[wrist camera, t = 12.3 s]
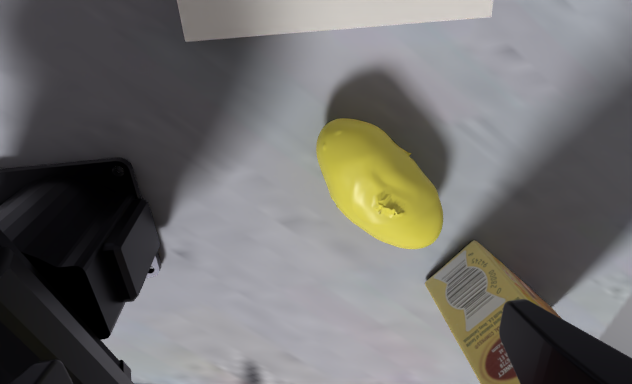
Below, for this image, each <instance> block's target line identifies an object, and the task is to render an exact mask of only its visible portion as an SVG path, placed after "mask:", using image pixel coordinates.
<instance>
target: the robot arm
mask: <svg viewBox="0 0 632 384" xmlns="http://www.w3.org/2000/svg"><path fill="white" fill-rule="evenodd" d="M115 166H120V167H121V168H123V170H124V173H119V172H118V171H117V170H116V169H115ZM159 246H160V241H159V238H158V235H157V231H156V228H155V224H154V221H153V217H152V214H151V211H150V207H149V204H148V202H147V201H146V200H144V199H143V198H141V195H140V191H139V188H138V184H137V181H136V178H135V174H134V171H133V168H132V165H131V163H130V162H129V161H127V160H126V159H123V158H110V159H100V160H90V161H80V162H70V163H60V164H50V165H40V166H29V167H19V168H9V169H0V384H134V383H133V382H132V381H131V369H130V368H129V367H128V366H127V365H126V363H125V362H124V361H123V360H118V359H117V358H116V357H115V356H114V354H113V353H112V352H111V351H110V350H109V349H108V348H107V347H106V346H105V345H104V343H103V342H102V341H101V339H106V338H108V337H109V336H110V334H111V332H112V330H113V328H114V326H115V324H116V322H117V319H118V317H119V315H120V313H121V311H122V309H123V306H124V304H125V302H131V301H134V300H135V299H136V297H137V296H138V295H139V293H140V290H141V288H142V286H143V283H144V281H145V279H146V278H150V277H154V276H156V275H158V273H159V271H160V269H161V262H160V258H159V255H158V252H157V251H158V249H159ZM151 266H152V267H154V268H153V269H150V267H151ZM499 335H500V339H501V342H502V344H503V346H504V349H505V351H506V353H507V355H508V357H509V360H510V362H511V364H512V366H513V369H514V371H515V373H516V375H517V377H518V380H519V382H520V384H632V358H630V357H628V356H627V355H625V354H623V353H621V352H620V351H618V350H616V349H614V348H613V347H611V346H609V345H607V344H605V343H603V342H602V341H600V340H598V339H597V338H595V337H593V336H591V335H589V334H588V333H586V332H584V331H582V330H581V329H579V328H577V327H575V326H573V325H572V324H570V323H568V322H566V321H565V320H563V319H561V318H559V317H557V316H556V315H554V314H552V313H550V312H549V311H547V310H545V309H543V308H541V307H540V306H538V305H536V304H534V303H533V302H531V301H529V300H526V299H519V300H511V301H507V302H506V303H505V304H504V307H503V312H502V317H501V322H500V327H499Z"/></svg>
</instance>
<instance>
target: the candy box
mask: <svg viewBox="0 0 632 384" xmlns="http://www.w3.org/2000/svg"><path fill="white" fill-rule="evenodd" d="M425 285H426V287H427V289H428V290H429V292H430V294H431V296H432V298H433V299H434V301H435V303H436V305H437V306H438V308H439V310H440V312H441V313H442V315H443V317H444V319H445V321H446V323H447V324H448V326H449V328H450V330H451V332H452V333H453V335H454V337H455V339H456V341H457V342H458V344H459V346H460V348H461V349H462V351H463V353H464V355H465V356H466V358H467V360H468V362H469V363H470V365H471V367H472V369H473V371H474V372H475V374H476V376H477V378H478V380H479V381H480V383H481V384H520V382H519V380H518V377H517V375H516V373H515V371H514V369H513V366H512V364H511V362H510V360H509V357H508V355H507V353H506V351H505V349H504V346H503V344H502V342H501V339H500V335H499V327H500V322H501V317H502V312H503V307H504V304H505V303H506V302H507V301H511V300H519V299H526V300H529V301H531V302H533V303H534V304H536V305H538V306H540V307H541V308H543V309H545V310H547V311H549V312H550V313H552V314H554V315H556V316H557V317H559V318H561V317H560V316H559V315H558V314H557V313H556V312H555V311H554V310H553V309H552V308H551V307H550V306H549V305H548V304H547V303H546V302H545V301H543V300H542V299H541V298H540V297H539V296H538V295H537V294H536V293H535V292H534V291H533V290H532V289H531V288H529V287H528V286H527V285H526V284H525V283H524V282H523V281H522V280H521V279H519V278H518V277H517V276H516V275H515V274H514V273H513V272H511V271H510V270H509V269H508V268H507V267H506V266H505V265H504V264H503V263H501V262H500V261H499V260H498V259H497V258H496V257H494V256H493V255H492V254H491V253H490V252H489V251H488V250H486V249H485V248H484V247H483V246H482V245H481V244H479V243H478V242H477V241H476V240H473V241H472V242H471V243H469V244H468V245H467V246H466V247H465V248H464V249H463V250H462V251H460V252H459V253H458V254H457V255H456V256H455V257H453V258H452V259H451V260H450V261H449V262H448V263H447V264H446V265H445V266H443V267H442V268H441V269H440V270H439V271H438V272H437V273H435V274H434V275H433V276H432V277H431V278H429V279H428V280H427V281H426V282H425ZM561 319H562V318H561Z"/></svg>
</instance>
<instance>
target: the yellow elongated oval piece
mask: <svg viewBox="0 0 632 384" xmlns="http://www.w3.org/2000/svg"><path fill="white" fill-rule="evenodd" d="M316 151H317V159H318V162H319V165H320V168H321V171H322V174H323V176H324V179H325V181H326V184H327V187H328V189H329V192H330V195H331V198H332V199H333V200H334V202H335V203H336V206H337V207H338V208H339V209H340V210H341V212H342V213H343V214H344V215H345V216H346V217H347V218H348V219H349V220H350V221H352V222H353V223H354V224H356V225H357V226H359V227H360V228H361V229H363V230H364V231H366V232H367V233H368V234H370V235H371V236H373V237H375V238H376V239H378V240H380V241H382V242H385V243H388V244H390V245H393V246H396V247H400V248H405V249H419V248H423V247H426V246H429V245H431V244H432V243H433V242H434V241H435V240H436V239H437V238H438V236H439V234H440V232H441V229H442V225H443V210H442V206H441V203H440V200H439V196H438V192H437V190H436V188H435V186H434V185H433V184H432V182H431V181H430V180H429V179H428V178H427V177H426V176H425V174H424V173H423V172H422V171H421V169H420V168H419V167H418V165H417V164H416V163H415V161H414V160H413V159H412V158H410V157H409V156H410V154H411V153H409V152H407V151H405V150H404V149H402V148H400V147H399V146H398V145H397V144H396V143H395V142H394V141H393V140H392V139H391V138H390V137H389V136H388V135H387V134H386V133H385V132H384V131H383V130H381V129H380V128H378V127H377V126H375V125H373V124H370V123H367V122H364V121H360V120H355V119H348V118H341V119H335V120H333V121H331V122H329V123H327V124H326V125H325V126H324V127H323V129H322V130H321V132H320V134H319V136H318V140H317V147H316Z"/></svg>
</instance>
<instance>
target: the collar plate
mask: <svg viewBox="0 0 632 384" xmlns="http://www.w3.org/2000/svg"><path fill="white" fill-rule="evenodd" d="M177 4H178V9H179V14H180V18H181V23H182V28H183V33H184V38H185V42H190V41H203V40H215V39H227V38H240V37H252V36H264V35H276V34H289V33H301V32H313V31H326V30H338V29H350V28H363V27H375V26H387V25H399V24H412V23H424V22H436V21H449V20H461V19H473V18H485V17H491V16H492V7H493V0H177Z"/></svg>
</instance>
